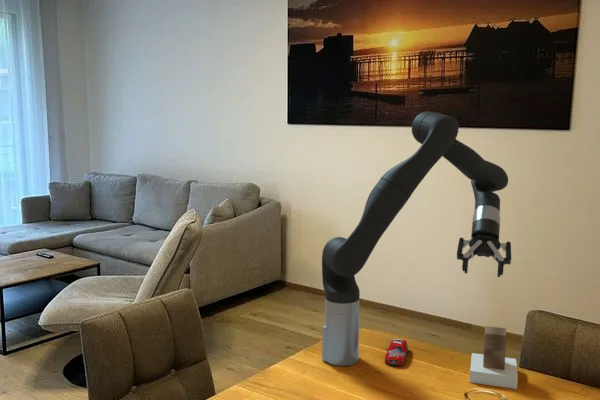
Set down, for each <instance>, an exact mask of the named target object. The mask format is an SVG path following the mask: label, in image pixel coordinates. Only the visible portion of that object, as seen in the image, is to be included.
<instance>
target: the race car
mask: <svg viewBox="0 0 600 400" xmlns="http://www.w3.org/2000/svg"><path fill="white" fill-rule="evenodd" d="M408 347H409V346H408V342H407V340H405V339H404V338H403V339H401V338H392V339H391V340H390V341H389V344H388V347H386V348H385V350H386V353H385V356H384V363H385V364H387V365H389V366H396V367H397V366H399V367H400V366H404V365H405V363H406V362H405V361H406V358H407V355H408V351H409V350H408Z"/></svg>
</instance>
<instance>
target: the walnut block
mask: <svg viewBox="0 0 600 400" xmlns="http://www.w3.org/2000/svg"><path fill="white" fill-rule="evenodd" d="M483 338H484V339H483V340H484V341H483V355H484V357H483V367H485V368H492V369H500V370H504V369H505V357H506V350H507V349H506V347H507V328H505V327H499V326H497V327H496V326H489V325H485V326H484V337H483Z"/></svg>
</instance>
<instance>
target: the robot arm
mask: <svg viewBox="0 0 600 400" xmlns="http://www.w3.org/2000/svg"><path fill="white" fill-rule="evenodd" d="M411 134H412V137H413V139H415V141H416V142H418V143H420V144H421V146H419V148H418V149H417V150H416V151H415V152H414V153H413V154H412V155H411V156H409V157H407V159H404V160H403V161H401V162H400V163H398V164H396V165H394V166H392V167H391V168H389V170H387V171H385V173H384V174H383V175H382V176H381V177H380V178H379V179H378V181H377V182H376V183H375V185H374V187H373V188H372V190H371V191H370V193H369V195H368V197H367V199H366V202H365V204H364V209H363V213H362V215H361V218H360V220H359V222H358V224H357V225H356V227H355V228H354V230H353V231H352V232H351V234H349V236H348V237H347V238H345V237H343V236H342V237H341V236H336V237H333V238H331V239H329V240H328V241H327V242H326V243H325V245H324V247H323V249H322V255H321V277H322V280H321V281H322V286H323V287H322V288H323V291H324V325H323V326H322V330H321V331H322V333H321V334H322V335H321V336H322V342H321V343H322V346H321V347H322V349H321V350H322V352H321V353H322V356H321V357H322V359H321V360H322V361H323V362H327V363H328V364H331V365H333V366H336V367H338V366H339V367H340V366H341V367H344V366H345V367H346V366H347V367H349V366H353V365H355V364H357V363H358V362H359V359H360V358H359V354H360V351H359V349H360V348H359V347H360V293H361V292H360V288H359V286H358V283H357V281H356V277H355V275H357V274H358V273H360V271H362V269H363V267H364V266H365V265H366V264H367V261H368V259H369V258H370V256H371V254H372V252H373V251H374V249H375V247H376V245H377V244H378V242H379V241H380V239H381V237H382V236H383V235H384V234H385V232H386V231H387V229H388V228H389V226H390V225H391V223H392V222H393V221H394V220H395V218H396V217H397V216H398V214H399V212H401V210H403V207H404V206H405V205H406V203H407V202H408V201H409V199H410V198H411V197H412V195H413V193H414V192H415V190H416V189H417V188H418V187H419V185H420V184H421V183H422V181H423V180H424V178H426V176H427V175H428V173H429V172H430V171H431V170H432V168H433V167H434V166H435V165H436V164H437V163H438V162H439V161H440V160H441V158H442V157H443V158H444V159H445V160H446V161H448V162H449V163H450V164H451V165H453V166H454V167H455V168H456V169H457V170H458V171H460V172H461V173H462V174H463V175H464V176H465V177H466V178H467V179H469V180H471V181H470V183H471V188H472V192H473V195H474V212H473V216H472V225H471V234H470V235H471V237H470V239H468V240H467V239H465V238H463V237H460V238H459V240H458V244H457V245H458V246H457V250H456V251H457V252H456V259H457V260H461V261H462V266H461V268H462V269H461V270H462V272H464V274H468V270H469V269H468V268H469V261H470V260H471V259H473V258H474V257H475V256H478V257H485V258H490V257H491V258H492V259H493V260H494V261H496V263H497V275H496V277H498V278H500V277H501V276H503V274H504V267H505V265H511V263H512V243H511V242H510V241H506V242H501V241H500V231H501V229H500V228H501V216H500V214H501V199H500V196H499V195H498V194H497V193H495V192H498V191H501V190H504V189H505V188H506V187H508V184H509V176H508V174H507V172H506V171H505V170H504V168H502V167H501V166H499V165H497V164H496V163H493V162H490V161H488V160H485V159H484V158H483V157H482V156H481V155H480V154H479V153H478V152H476V150H474V149H473V148H472V147H470V146H468V145H466V144H464V143H463V142H462V141H460V140H458V139H457V137H458V134H459V123H458V121H457V119H456V118H454V117H452V116H449V115H446V114H443V113H439V112H434V111H423V112H420V113H418V114H417V115H416V117H415V118H414V119H413V122H412V124H411ZM467 246H469V249H468V250H467V252H465V253H463V251H464V249H465V248H466V247H467ZM500 249H502V251H504V252H505V257H503V256H502V254H501V253H500V251H499V250H500Z"/></svg>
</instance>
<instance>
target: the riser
mask: <svg viewBox="0 0 600 400" xmlns="http://www.w3.org/2000/svg"><path fill="white" fill-rule="evenodd" d="M483 357H484V353H475V352H472V353H471V360H470V370H469V383H472V384H473V383H474V384H478V385H479V384H481V385H486V386H487V385H488V386H495V387H501V388H508V389H514V390H517V389H518V379H519V377H518V376H519V375H518V374H519V373H518V365H517V358H514V357H513V358H512V357H507V356H505V369H504V370H500V369H492V368H485V367H483Z"/></svg>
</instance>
